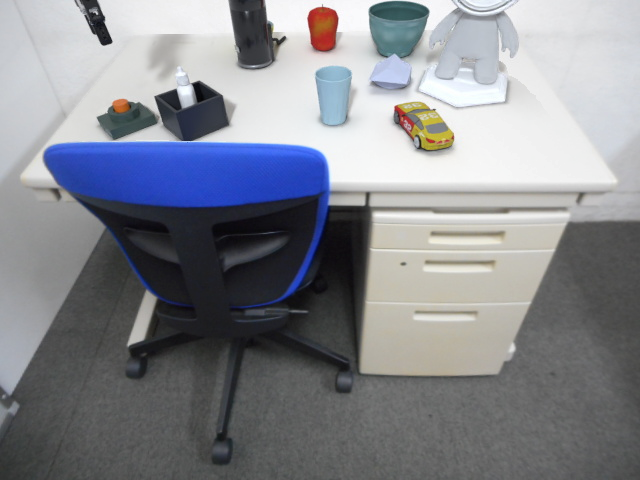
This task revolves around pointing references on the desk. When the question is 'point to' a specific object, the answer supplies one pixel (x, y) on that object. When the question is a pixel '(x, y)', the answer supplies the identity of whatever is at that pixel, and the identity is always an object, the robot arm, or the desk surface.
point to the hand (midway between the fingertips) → (102, 38)
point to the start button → (121, 105)
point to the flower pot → (397, 26)
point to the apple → (323, 27)
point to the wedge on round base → (391, 73)
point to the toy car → (423, 125)
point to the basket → (193, 112)
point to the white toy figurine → (471, 54)
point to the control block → (126, 120)
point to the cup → (333, 93)
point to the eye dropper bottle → (185, 89)
